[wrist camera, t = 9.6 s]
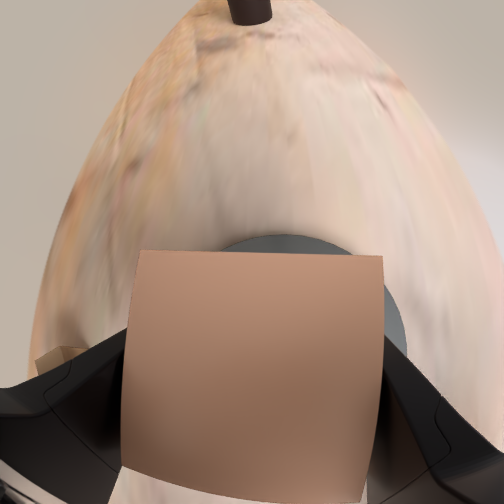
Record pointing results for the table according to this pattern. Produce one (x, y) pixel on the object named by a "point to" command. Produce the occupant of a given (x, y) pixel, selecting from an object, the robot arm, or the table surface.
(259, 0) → the bottle
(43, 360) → the block
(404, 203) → the table surface
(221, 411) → the tan rectangular block
